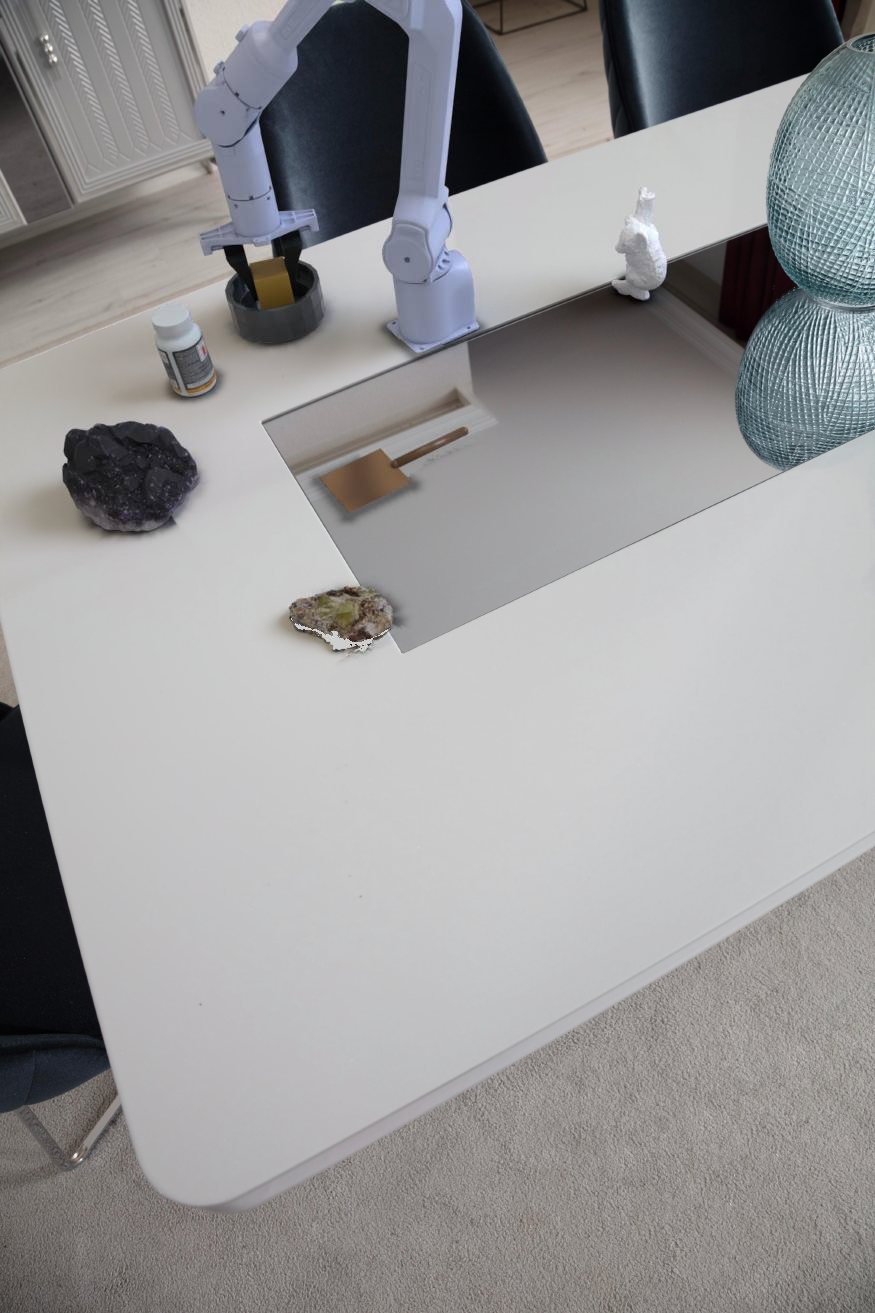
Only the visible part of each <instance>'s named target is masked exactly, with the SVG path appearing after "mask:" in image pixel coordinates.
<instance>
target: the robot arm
mask: <svg viewBox="0 0 875 1313" xmlns="http://www.w3.org/2000/svg"><path fill="white" fill-rule="evenodd" d="M336 1H337V0H287V1H286V2H285V3H284V5H283V7H282V8H281V9H280V11H279V12H278V14H277V15H276V17H275V18H274V19H273V20H263V19H262V20H256V21H254V22H253V23H251V25H250V26H249V25H248V24H247V23H245V24H244V25H243V26H241V28H240V29H239V31H238V32H237V33H236V34H235V36H234V38H235V40H236V41H237V42H238V43H237V44H236V46H235V47H234V49H233V50H232V51H231V53H230V54H229V55H228V57H227V58H226V59H225V61H223V59H221V60H219V61H218V62H217V63H216V65H215V66H214V67H213V69H212V71H213V73H214V75H215V76H214V77H213V78H212V79H211V81H209V83H208V84H207V85H206V86H205V87H204V88H202V89H201V90H199V91H198V92H197V95H196V96H197V97H196V99H195V100H194V104H193V111H192V113H193V117H194V121H195V123H196V126H197V128H198V130H199V131H200V132H201V134H202V135H203V136H204V137H205V138H206V139H207V140H209V141H210V144H211V147H212V151H213V156H214V159H215V163H216V167H217V170H218V174H219V178H220V182H221V185H222V188H223V192H224V197H225V200H226V203H227V207H228V212H229V216H230V218H231V221H229V222H227V223H225V224H222V225H220V226H218V227H215V228H212V229H209V230H206V231H203V232H200V233H198V240H199V243H200V246H201V250H202V253H203V256H204V257H207V256H211V255H213V253H214V252H216V251H221V250H223V253H224V256H225V260H226V262H227V263H228V265H229V266H230V267H231V268H232V269H233V270H234V271H235V273H237V274H238V275H239V276H240V277H241V278H242V280H243V281H244V283H245V284H246V286H247V287H248V289H249V291H250V293H251V295H252V297H253V300H254V301H259V299H258V295H257V291H256V288H255V284H254V280H253V277H252V274H251V272H250V269H249V262H248V258H247V255H246V250H245V247H244V245H253V246H254V247H256V248H261V247H264V246H269V245H271V244H272V241H273V240H275V239H277V238H279V242H280V246H281V251H282V254H283V258H284V259H285V265H286V269H287V272H288V276H289V280H290V284H291V289H292V293H295V292H297V290H296V274H297V267H298V262H299V260H300V257H301V254H302V252H303V244H304V243H303V240H302V236H301V233H303V232H307V231H308V232H310V233H317V232H319V231H320V228H319V223H318V222H319V221H318V217H317V214H316V211H315V209H314V208H309V209H303V210H284V211H283V210H282V211H281V210H280V211H279V209H278V204H277V199H276V195H275V190H274V187H273V183H272V178H271V173H270V169H269V165H268V161H267V156H266V152H265V147H264V143H263V139H262V133H261V126H260V122H259V121H260V117H261V115H262V113H263V110H265V109H266V107H267V106H268V105H269V104H270V102H271V101H272V100H273V99H274V98H275V96H276V95H277V94H278V93H279V91H281V89H282V88H283V86H285V84H286V83H287V82H288V81H289V79H290V78H291V77H292V76H293V75H294V73H295V72H297V69H298V64H299V60H298V59H299V58H298V49H297V46H298V45H299V44H300V43H301V42H302V40H303V39H304V38H305V37H306V36H307V35H308V34H309V33H310V32H311V30H312V29H313V28H314V27H315V26H316V24H317V23H318V22H319V21H320V20H321V19H322V17H323V16H324V15H325V14H326V12H328V10H329V9H330V8H331V7H332V6H333V4H334V3H335V2H336ZM339 1H340V2H345V3H349V4H350V3H351V4H352V3H354V2H355V1H356V0H339ZM364 1H365V2H366V3H368V4H369V5H370V6H372V7H374V8H375V9H376V10H378V11H380V13H383V14H384V15H386V16H387V17H388V18H390V20H392V21H393V22H396V23H397V24H398V25H399V26H400V27H401V29H402V30H403V31H404V32H405V33H406V35H407V36H408V39H409V41H408V53H407V70H406V82H405V83H406V86H405V99H404V113H403V114H404V115H403V127H402V128H403V130H402V143H401V144H402V146H401V159H400V160H401V161H400V174H399V175H400V176H399V190H398V196H397V199H396V203H395V207H394V211H393V216H392V218H391V230H390V232H389V235H388V236H387V238H386V239H385V241H384V242H383V245H382V249H381V254H382V255H381V256H382V261H383V264H384V266H385V268H386V269H387V271H388V272H389V273H390V274H391V275H392V282H393V290H394V297H395V305H396V312H397V313H396V314H397V318H396V319H394V320H392V321H390V322H388V323H386V328H387V330H388V331H390V332H391V333H392V334H393V336H395V337H396V338H397V339H398V340H401V341H402V342H404V343H405V345H407V347H409V348H410V349H411V350H412V351H413V352H414V353H416V354H420V353H423V352H424V351H427V350H430V349H432V348H434V347H436V346H439V345H442V346H443V345H445V344H449V343H450V342H452V341H454V340H456V339H459V338H461V337H463V336H465V335H468V334H470V333H472V332H474V331H476V330H479V328H480V324H479V323H478V322H477V321H476V319H477V318H476V302H475V284H474V278H473V273H472V270H471V267H470V265H469V263H468V261H467V259H466V257H465V256H464V255H463V254H462V253H461V252H460V251H459V250H456V249H451V250H448V247H447V244H446V241H447V239H448V238H449V237H450V235H451V233H452V231H453V226H454V219H453V218H454V217H453V214H452V212H451V209H450V205H449V192H450V191H449V187H448V186H446V185H445V182H446V175H447V174H446V173H447V164H448V155H449V145H450V137H451V136H450V135H451V127H452V116H453V107H454V99H455V98H454V97H455V89H456V79H457V72H458V70H457V69H458V60H459V52H460V42H461V32H462V25H463V24H462V23H463V5H462V2H461V0H364Z"/></svg>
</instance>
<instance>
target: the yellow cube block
mask: <svg viewBox="0 0 875 1313" xmlns="http://www.w3.org/2000/svg"><path fill="white" fill-rule="evenodd" d="M283 258H284V255H283V256H282V255H281V256H277V257H273V258H272V257H271V258H268V259H264V260H260V261H255V262H254V261H253V262H250V263H248V265H250V269H251V273H252V276H253V280H254V284H255V288H256V291H257V295H258V299H259V303H260V307H261V309H272V308H277V307H282V306H286V305H288V304H290V303H293V302H294V298H293V293H292V289H291V284H290V280H289V276H288V272H287V269H286V266H285V262H284V259H283Z"/></svg>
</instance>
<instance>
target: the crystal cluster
mask: <svg viewBox="0 0 875 1313" xmlns="http://www.w3.org/2000/svg"><path fill="white" fill-rule="evenodd" d="M62 452H63V455H64V457H65V458H66V459H67V460H66V462H64V463H63V465H61V466H62V468H61V473H62V483H63V484H64V485H65V487H66V489H67V490H68V492H69V495H70V497H71V499H72V501H73V504H74V505H75V507H76V508H77V509H78V510H79V511H80V512H82V514H83V515H85V516H87V517H89V518H90V519H91V520H92V521H93V523H94V524H96V525H97V526H99V527H101V528H102V529H104V530H106V531H115V530H116V531H122V532H124V533H125V532H129V531H130V532H131V531H135V532H140V531H147V532H149V531H150V532H151V531H154V530H155V529H157V528H160V527H162V526H163V525H164V524H165V523H167V522H168V521H169V519H170V516H172V515H173V514H174V510H175V509H176V508H178V507H179V506H180V505H182V504H183V502H184V501H185V499H186V497H187V496H188V494H190V492H191V491H193V489H195V488H196V486H197V484H198V483H199V482H200V476H199V475H198V474H199V473H198V467H197V462H196V461H195V459H194V458H193V457H192V454H191V453H190V452H189V450H188V449H187V448H186V447H184V446H183V445H182V444H181V442H180V441H179V440H178V439H177V437H176V436H175V434H174V433H173V431H171V429H168V428H167V427H165V426H162V425H159V426H158V425H156V424H155V423H151V422H150V423H149V422H147V423H142V422H138V421H135V420H126V421H122V422H117V423H116V424H113V425H110V424H109V425H108V424H105V423H97V422H96V424H94V425H93V426H91V427H90V428H88V429H81V428H71V429H70V430H68V432H67V433H66V434H65V438H64V442H63V451H62Z"/></svg>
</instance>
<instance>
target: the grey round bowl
mask: <svg viewBox="0 0 875 1313" xmlns="http://www.w3.org/2000/svg"><path fill="white" fill-rule="evenodd" d="M283 259H284V257H283ZM284 262H285V259H284ZM248 265H249V264H248ZM285 266H286V265H285ZM249 269H250V265H249ZM250 272H251V269H250ZM251 274H252V273H251ZM252 277H253V276H252ZM320 279H321V278H320V275H319V272H318V270H317V269H316V268H315V267H314V266H313V265H312V264H311V263H308V262H306V261H303V260H301V259H299V262H298V267H297V274H296V290H297V292H295V293H293V298H294V302H293V303H290V304H288V305H286V306H282V307H277V308H272V309H261V307H260V303H259V301H254V300H253V297H252V295H251V293H250V291H249V289H248V287H247V286H246V284H245V283H244V281H243V280H242V278H241V277H240V276H239V275H238V274H237V272H235V273H234V274H233V275H232V276H231V277H230V278H229V280H228V281H227V283H226V287H225V289H224V293H225V298H226V302H227V305H228V308H229V312H230V316H231V318H232V322H233V326H234V328H235V330H236V331H237V332H238V333H239V335H241V336H242V337H244V338H245V339H247V340H250V341H251V342H253V341H254V342H257V343H263V344H264V343H267V344H268V343H269V344H270V343H282V342H286V341H291V340H294V339H297V338H299V337H301V336H304V335H306V334H308V333H310V331H312V330H314V329H315V328H317V326H318V325H319V324H320V323H321V321H322V320H323V318H324V316H325V312H326V304H325V300H324V294H323V290H322V285H321V280H320Z"/></svg>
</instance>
